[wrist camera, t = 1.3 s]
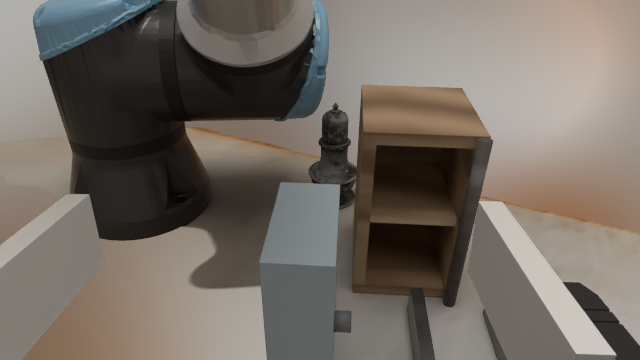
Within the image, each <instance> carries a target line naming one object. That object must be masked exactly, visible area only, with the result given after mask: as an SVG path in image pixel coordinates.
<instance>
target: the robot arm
mask: <svg viewBox="0 0 640 360" xmlns="http://www.w3.org/2000/svg"><path fill="white" fill-rule="evenodd" d="M327 19H328V18H327V13H326V9H325V7H324V5H323V4H322V3H321V2H319V1H315V0H178V1H168V0H49V1H47V2H45V3H43V4H42V5H40V6H39V7H38V8H37V10H36V11H35V13H34V16H33V25H34V29H35V34H36V38H37V43H38V47H39V51H40V55H39V57H40V60H41V61H43V64H44V67H45V70H46V73H47V76H48V79H49V82H50V85H51V88H52V91H53V94H54V97H55V100H56V103H57V107H58V110H59V113H60V116H61V119H62V122H63V125H64V128H65V131H66V134H67V137H68V140H69V143H70V146H71V149H72V154H73V158H72V172H71V185H70V194H67V195H65V196H64V197H63V198H61V199H60V200H59V201H57V202H56V203H55V204H53V205H52V206H51V207H50V208H48V209H47V210H46V211H44V212H43V213H42V214H40V215H39V216H38V217H37V218H35V219H34V220H32V221H31V222H30V223H29V224H27V225H26V226H25V227H23V228H22V229H21V230H19V231H18V232H17V233H15V234H14V235H13V236H12V237H10V238H9V239H8V240H6V241H5V242H4V243H2V244H1V245H0V360H22V359H23V358H24V357H25V355H26V354H27V353H28V352H29V351H30V350H31V349H32V347H33V346H34V345H35V344H36V343H37V342H38V340H39V339H40V338H41V337H42V336H43V334H44V333H45V332H46V331H47V330H48V329H49V327H50V326H51V325H52V324H53V323H54V321H55V320H56V319H57V318H58V317H59V316H60V315H61V313H62V312H63V311H64V310H65V309H66V307H67V306H68V305H69V304H70V303H71V302H72V300H73V299H74V298H75V297H76V296H77V295H78V293H79V292H80V291H81V290H82V289H83V287H84V286H85V285H86V284H87V283H88V282H89V280H90V279H91V278H92V277H93V276H94V275H95V273H96V272H97V271H98V270H99V269H100V267H101V266H102V265H103V264H104V263H105V261H104V257H103V252H102V248H101V243H100V239H99V238H102V239H108V240H119V241H120V240H122V241H123V240H138V239H144V238H149V237H154V236H157V235H161V234H164V233H167V232H170V231H172V230H175V229H177V228H179V227H181V226H183V225H185V224H186V223H188V222H190V221H191V220H193V219H194V218H195V217H197V216H198V215H199V214H200V213H201V212H202V211H203V210H204V209H205V207H206V206H207V204H208V202H209V200H210V196H211V189H210V183H209V176H208V173H207V171H206V169H205V167H204V165H203V163H202V162H201V160H200V158H199V156H198V154H197V152H196V151H195V149H194V147H193V145H192V143H191V142H190V140H189V138H188V136H187V134H186V129H185V123H184V121H221V120H223V121H225V120H275V121H285V120H287V119H296V118H305V117H308V116H310V115H311V114H313V113H314V112H315V111H316V109H317V108H318V106H319V104H320V101H321V98H322V94H323V90H324V85H325V79H326V71H325V68H326V66H327V61H328V49H329V30H328V20H327ZM468 273H469V275H470V278H471V280H472V282H473V284H474V287H475V289H476V291H477V293H478V296H479V298H480V300H481V302H482V305H483V307H484V309H485V311H486V314H487V316H488V318H489V320H490V323H491V325H492V327H493V329H494V332H495V334H496V336H497V338H498V341H499V343H500V345H501V347H502V350H503V352H504V354H505V356H506V359H507V360H640V346H639V345H638V343H637V342H636V341H635V340H634V339H633V337H632V336H631V335H630V334H629V333H628V331H627V330H626V329H625V328H624V326H623V325H622V324H619V320H618V319H617V318H616V317H615V316H614V314H613V313H612V312H610V311H609V308H608V307H607V306H606V305H605V304H604V302H603V301H602V300H601V299H600V298H599V296H598V295H597V294H595V293H594V292H592V291H591V290H589V289H588V288H586V287H585V286H584V285H582V284H581V283H573V282H562V281H561V280H560V278H559V277H558V276H557V274H556V273H555V272H554V270H553V269H552V268H551V266H550V265H549V264H548V262H547V261H546V260H545V258H544V257H543V256H542V254H541V253H540V252H539V250H538V249H537V248H536V246H535V245H534V244H533V242H532V241H531V240H530V238H529V237H528V236H527V234H526V233H525V232H524V230H523V229H522V228H521V226H520V225H519V224H518V222H517V221H516V220H515V218H514V217H513V216H512V214H511V213H510V212H509V210H508V209H507V208H506V206H505V205H504V204H503V202H485V201H479V203H478V209H477V215H476V221H475V228H474V234H473V240H472V247H471V253H470V259H469V265H468Z"/></svg>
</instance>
